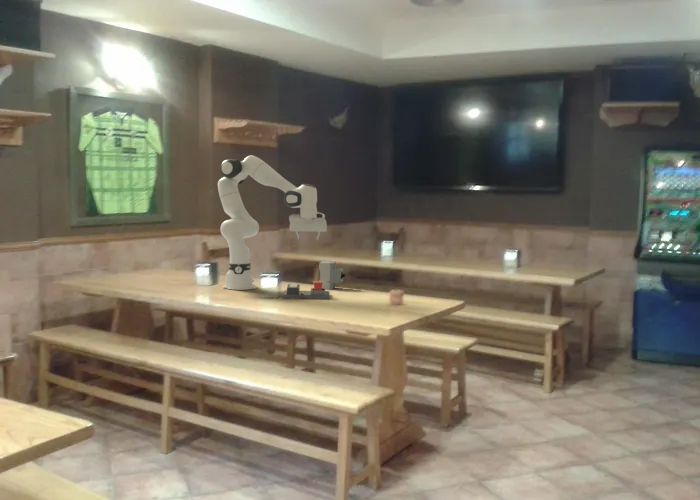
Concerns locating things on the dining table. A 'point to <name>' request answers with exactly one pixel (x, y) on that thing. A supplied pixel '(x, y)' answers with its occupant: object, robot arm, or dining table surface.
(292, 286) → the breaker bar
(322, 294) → the breaker panel
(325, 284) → the circuit breaker
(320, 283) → the lockout cap
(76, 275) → the dining table surface
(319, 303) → the dining table surface
